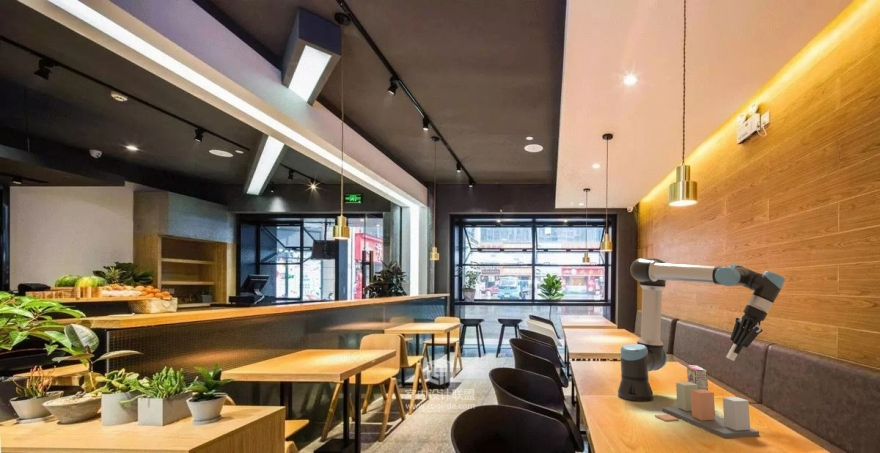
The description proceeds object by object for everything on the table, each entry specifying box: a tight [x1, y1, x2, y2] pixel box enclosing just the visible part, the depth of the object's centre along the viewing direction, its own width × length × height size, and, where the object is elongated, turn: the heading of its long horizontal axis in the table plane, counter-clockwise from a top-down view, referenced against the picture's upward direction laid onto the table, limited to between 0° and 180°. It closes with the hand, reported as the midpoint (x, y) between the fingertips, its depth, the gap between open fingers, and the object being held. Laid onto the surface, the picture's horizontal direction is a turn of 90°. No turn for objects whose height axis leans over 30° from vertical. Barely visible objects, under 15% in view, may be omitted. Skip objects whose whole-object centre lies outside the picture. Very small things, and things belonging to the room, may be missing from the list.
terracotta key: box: [691, 389, 716, 421], centre depth 175 cm, size 5×6×10 cm
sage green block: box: [675, 381, 698, 411], centre depth 187 cm, size 5×6×10 cm
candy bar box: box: [686, 364, 709, 391], centre depth 197 cm, size 11×5×16 cm, turn 168°
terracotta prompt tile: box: [654, 413, 680, 422], centre depth 178 cm, size 6×6×1 cm
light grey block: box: [722, 396, 751, 431], centre depth 164 cm, size 5×6×10 cm
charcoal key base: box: [661, 406, 760, 439], centre depth 174 cm, size 32×14×2 cm, turn 12°
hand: (729, 359), depth 186 cm, fingers closed
